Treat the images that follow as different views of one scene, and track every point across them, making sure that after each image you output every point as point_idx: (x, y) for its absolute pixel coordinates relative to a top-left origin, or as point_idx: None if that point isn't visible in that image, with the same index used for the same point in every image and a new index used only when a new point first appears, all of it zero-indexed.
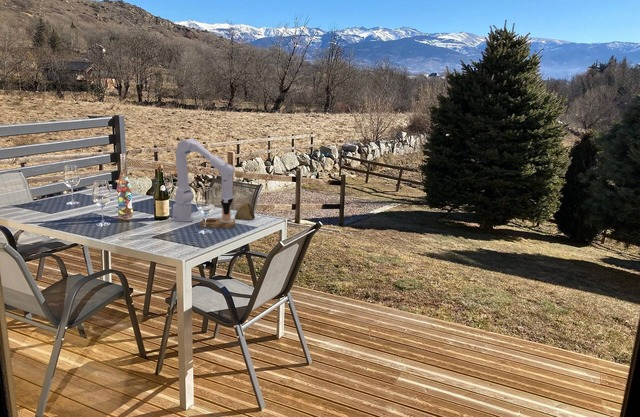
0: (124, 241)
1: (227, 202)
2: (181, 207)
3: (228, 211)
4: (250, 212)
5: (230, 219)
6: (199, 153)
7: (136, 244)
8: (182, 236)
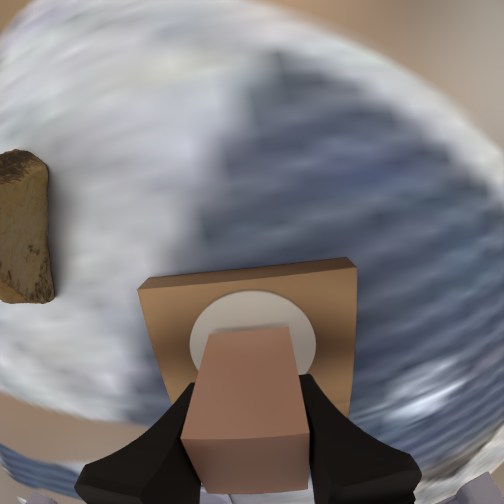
0: None
1: (489, 474)
2: None
3: (324, 396)
4: (5, 175)
5: (213, 326)
6: None
7: (494, 461)
8: (470, 428)
